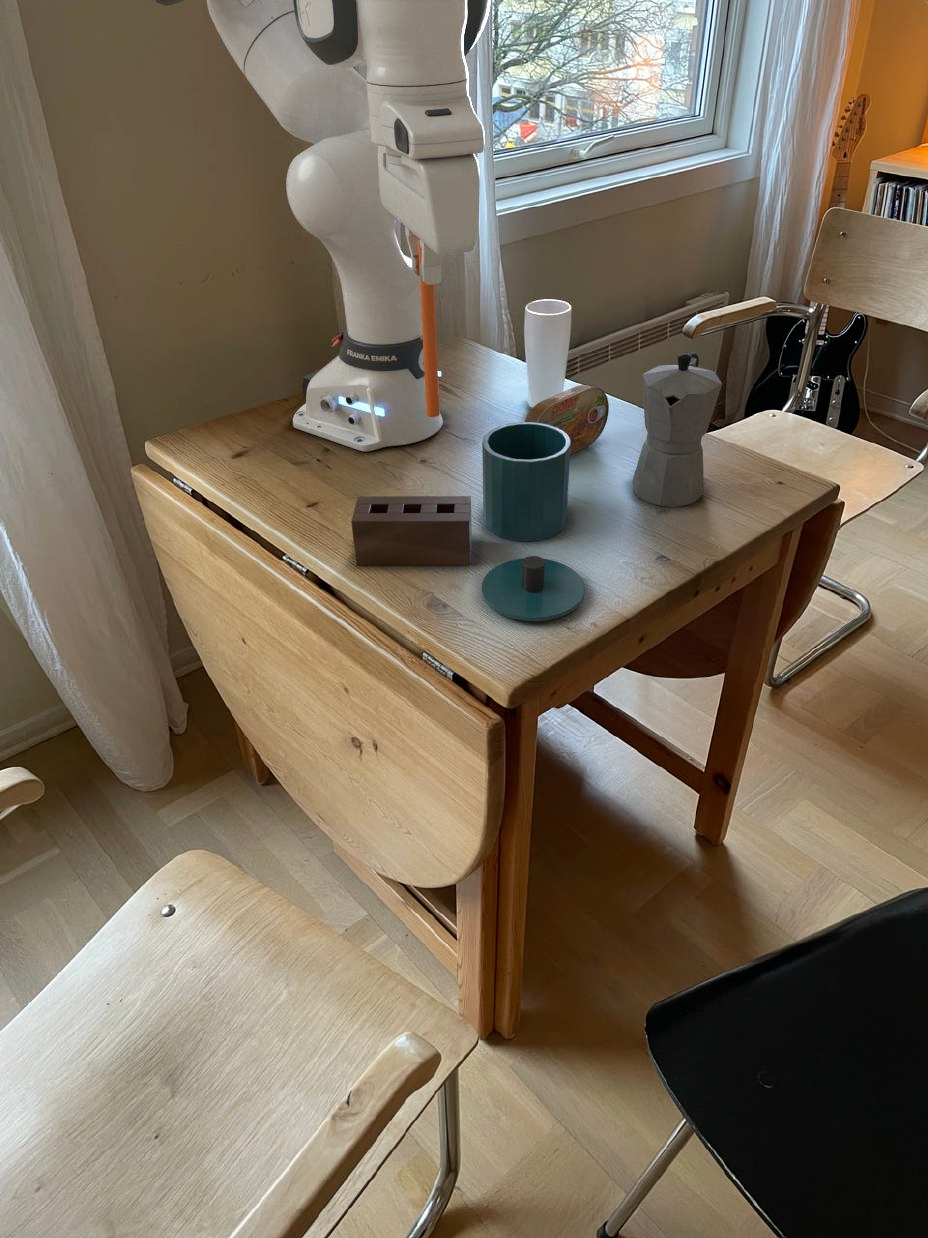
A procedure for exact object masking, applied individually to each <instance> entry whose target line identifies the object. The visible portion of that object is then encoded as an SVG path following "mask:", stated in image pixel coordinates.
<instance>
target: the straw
mask: <svg viewBox="0 0 928 1238" xmlns="http://www.w3.org/2000/svg"><path fill="white" fill-rule="evenodd" d="M418 254H419V262H421V260H422V248H421V247H420V239H419V238H418ZM419 274H420V267H419ZM435 290H436V289H435V284H432V285H427V284H425V283H424V282H423V281H422V280H421V278H420V294H421V313H422V333H423V353H424V372H425V392H426V411H427V416H429V417H437V416H439V414H441V412H440V391H439V388H440V387H439V376H438V371H439V366H438V342H437V341H438V339H437V319H436V318H437V317H436V315H437V314H436V294H435V293H436V292H435Z"/></svg>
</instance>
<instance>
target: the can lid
mask: <svg viewBox="0 0 928 1238" xmlns="http://www.w3.org/2000/svg"><path fill="white" fill-rule="evenodd" d="M585 589H586V587H585V583H584V580H583V579H582V577H581V575H580V574H579V573H578V572H577V571H576V570H575V569H573V568H572V567H570V566H568V565H567V564H564V563H562V562H559V561H557V560H553V559H548V558H543V557H541V556H538V555H530V556H526V557H523V558H516V559H515V558H514V559H512V560H507V561H505V562H502V563H500V564H498V565H496V566H495V567H492V569H491V570H489V571H488V572H487V573H486V574H485V575H484V577H483V579H482V583H481V595H482V597H483V600H484V601H485V603H486V604H487V606H489V607H490V608H491V609H492V610H494V611H495V612H496V613H498V614H500V615H502V616H504V617H507V618H510V619H512V620H513V619H514V620H517V621H525V622H545V621H550V620H555V619H559V618H562V617H564V616H566V615H569V614H570V613H572V612H573V611H574V610H576V609H577V608H578V607H579V606H580V604H581V603H582V602H583V600H584V598H585Z"/></svg>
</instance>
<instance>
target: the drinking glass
mask: <svg viewBox="0 0 928 1238" xmlns="http://www.w3.org/2000/svg"><path fill="white" fill-rule="evenodd" d="M523 318H524V321H523V336H524V337H523V338H524V352H525V354H524V355H525V366H526V367H525V368H526V381H527V382H526V383H527V404H528V406H529V408H531V409H532V408H533V407H534V406H535V405H536V404H538V403H539V402H541V401H544V400H546V399H548V398H550V397H553V396H555V395H557V394H560V393H562V392H564V391H565V390H564V389H565V380H566V373H567V365H568V358H569V352H570V351H569V350H570V343H571V333H572V332H571V331H572V305H570V304H569V302H566V301H563V300H558V299H539V300H534V301H531V302H529V303H527V304H526V305H525V307H524V317H523Z"/></svg>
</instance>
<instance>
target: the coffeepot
mask: <svg viewBox="0 0 928 1238" xmlns="http://www.w3.org/2000/svg"><path fill="white" fill-rule="evenodd" d="M698 355H699V354H697V353H696V352H690V353H680V354H678V355H677V364H663V365H662V364H660V365H658V366H655V367H654V368H652V369H650V370H648V371H646V372H644V373H642V375H641V376H642V393H643V396H642V397H643V417H644V426H645V430H646V432H647V433H646V438H645V440H644V441H643V444H642V447H641V450H640V453H639V457H638V460H637V464H636V468H635V470H634V474H633V477H632V481H631V484H632V487H633V491H634V494H635V495H636V497H638V498H639V499H640V500H642V501H644V502H646V503H648V504H651V505H654V506H658V507H665V508H678V507H679V508H680V507H685V506H689V505H692V504H694V503H696V502H697V501H698V500H699V499H700V498H701V497H702V496H703V495H704V494H705V477H704V475H705V474H704V450H703V446H702V438H703V437H704V436H705V435H706V434H707V433H708V430H709V426H710V422H711V420H712V417H713V415H714V411H715V408H716V404H717V401H718V398H719V395H720V392H721V388H722V386H723V383H722V381H721V379H720V378H719V377H718V375H717V374H716V372H715V371H713V370H709V369H707V368H703V367H699V363H700V360H699V356H698Z"/></svg>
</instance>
